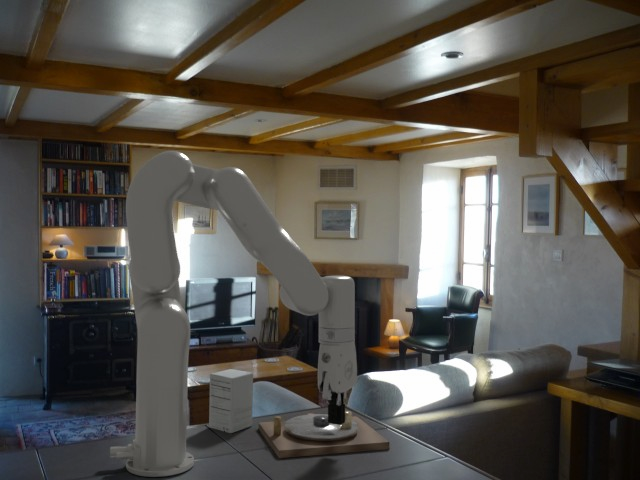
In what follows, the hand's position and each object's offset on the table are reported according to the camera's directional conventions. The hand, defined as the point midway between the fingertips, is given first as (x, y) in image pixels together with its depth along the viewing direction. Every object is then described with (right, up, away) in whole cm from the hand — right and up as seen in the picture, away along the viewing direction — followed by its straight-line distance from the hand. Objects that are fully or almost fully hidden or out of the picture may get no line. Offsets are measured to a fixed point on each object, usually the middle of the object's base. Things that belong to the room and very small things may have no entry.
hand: (336, 422), depth 133 cm
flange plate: (-3, -4, +8) cm, 10 cm away
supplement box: (-24, -6, +15) cm, 29 cm away
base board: (-3, -6, +8) cm, 10 cm away
